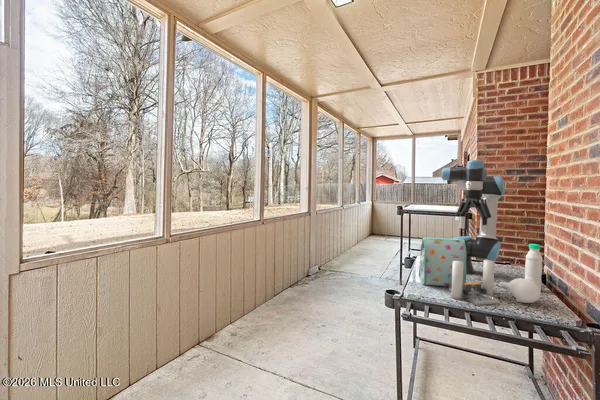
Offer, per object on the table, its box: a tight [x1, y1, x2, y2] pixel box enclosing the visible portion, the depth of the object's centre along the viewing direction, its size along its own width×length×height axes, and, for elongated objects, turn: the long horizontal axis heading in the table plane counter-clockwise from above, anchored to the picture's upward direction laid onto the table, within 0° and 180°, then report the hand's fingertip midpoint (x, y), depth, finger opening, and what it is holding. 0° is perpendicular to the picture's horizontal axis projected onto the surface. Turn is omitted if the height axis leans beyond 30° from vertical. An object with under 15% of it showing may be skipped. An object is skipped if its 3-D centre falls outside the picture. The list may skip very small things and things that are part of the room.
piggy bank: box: [499, 277, 542, 304], centre depth 133 cm, size 12×12×15 cm
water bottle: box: [524, 243, 544, 292], centre depth 149 cm, size 7×7×25 cm
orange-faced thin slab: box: [464, 282, 482, 292], centre depth 137 cm, size 1×9×4 cm, turn 101°
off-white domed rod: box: [481, 259, 495, 298], centre depth 138 cm, size 5×5×18 cm
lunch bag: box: [418, 237, 467, 288], centre depth 156 cm, size 23×16×27 cm
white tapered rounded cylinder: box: [449, 261, 464, 301], centre depth 135 cm, size 5×5×18 cm
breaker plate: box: [448, 287, 500, 306], centre depth 137 cm, size 18×12×4 cm, turn 11°
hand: (471, 230), depth 144 cm, fingers open, 13 cm apart
